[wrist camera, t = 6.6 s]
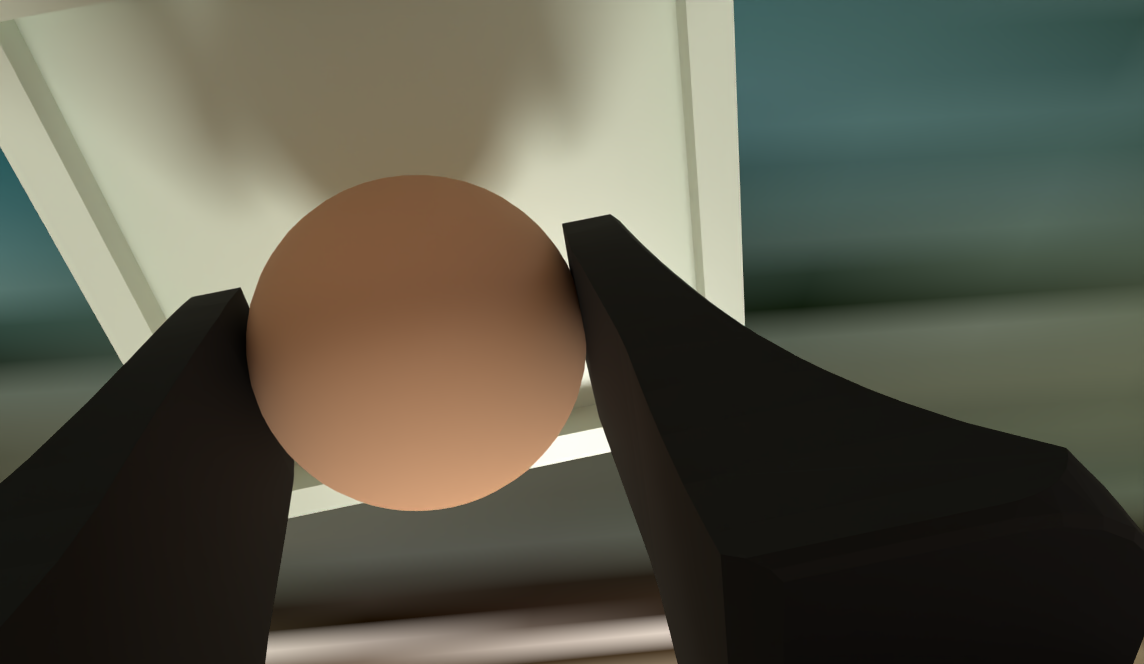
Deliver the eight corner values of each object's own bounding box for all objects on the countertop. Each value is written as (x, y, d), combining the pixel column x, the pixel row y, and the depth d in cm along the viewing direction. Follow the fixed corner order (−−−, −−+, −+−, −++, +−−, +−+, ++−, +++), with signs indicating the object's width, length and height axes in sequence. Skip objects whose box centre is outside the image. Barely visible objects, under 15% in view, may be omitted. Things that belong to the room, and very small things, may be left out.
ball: (537, 93, 12) (591, 257, 8) (577, 341, 14) (632, 542, 11) (221, 153, 11) (154, 344, 8) (317, 394, 14) (294, 614, 11)
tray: (706, -184, 11) (727, -173, 10) (733, 390, 17) (748, 423, 16) (-61, -43, 11) (-94, -21, 10) (226, 494, 16) (217, 532, 16)
